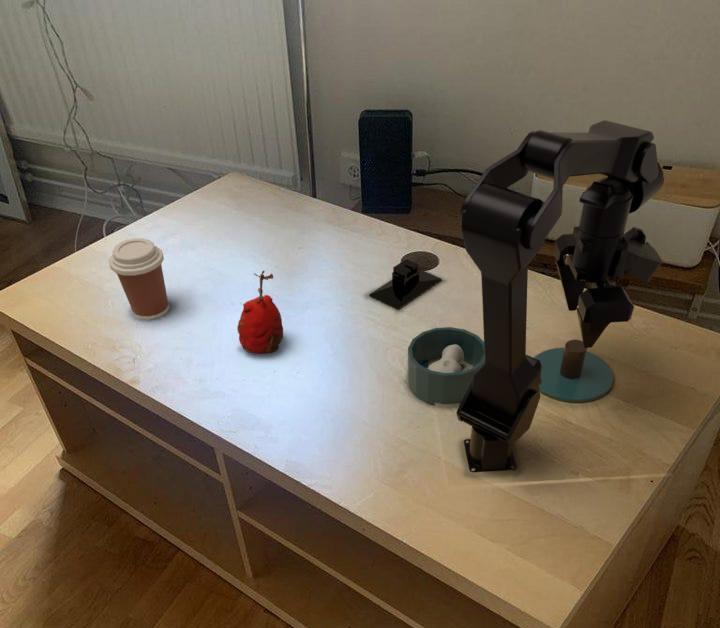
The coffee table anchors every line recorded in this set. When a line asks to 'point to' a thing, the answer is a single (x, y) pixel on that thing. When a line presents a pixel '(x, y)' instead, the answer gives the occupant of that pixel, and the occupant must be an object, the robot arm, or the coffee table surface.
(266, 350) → the red fruit with stem
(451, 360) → the pale two-lobed sculpture
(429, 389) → the tin
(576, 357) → the tin lid
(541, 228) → the robot arm
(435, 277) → the build plate
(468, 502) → the coffee table surface
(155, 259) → the coffee cup
